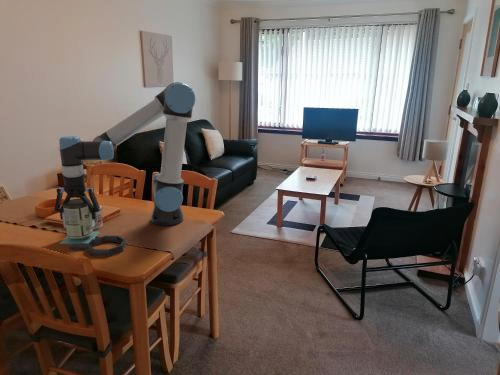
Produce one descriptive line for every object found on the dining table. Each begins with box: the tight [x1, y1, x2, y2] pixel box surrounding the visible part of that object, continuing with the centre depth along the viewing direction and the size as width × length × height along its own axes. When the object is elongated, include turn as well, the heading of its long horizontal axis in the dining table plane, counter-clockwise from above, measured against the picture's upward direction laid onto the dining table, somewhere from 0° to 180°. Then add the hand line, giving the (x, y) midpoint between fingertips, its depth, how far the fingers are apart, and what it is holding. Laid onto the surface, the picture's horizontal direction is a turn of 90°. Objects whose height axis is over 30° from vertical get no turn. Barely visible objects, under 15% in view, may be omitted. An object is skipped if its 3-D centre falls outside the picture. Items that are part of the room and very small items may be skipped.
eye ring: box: [68, 235, 127, 257], centre depth 142 cm, size 21×14×2 cm, turn 94°
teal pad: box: [59, 231, 101, 245], centre depth 152 cm, size 12×12×1 cm
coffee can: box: [62, 198, 94, 239], centre depth 149 cm, size 10×10×14 cm
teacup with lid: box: [90, 201, 104, 231], centre depth 164 cm, size 12×9×12 cm
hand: (79, 226), depth 150 cm, fingers closed on coffee can, 10 cm apart
